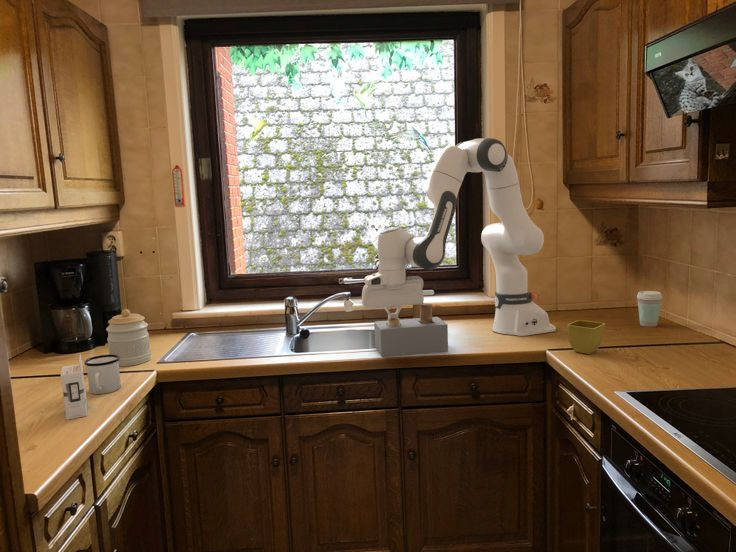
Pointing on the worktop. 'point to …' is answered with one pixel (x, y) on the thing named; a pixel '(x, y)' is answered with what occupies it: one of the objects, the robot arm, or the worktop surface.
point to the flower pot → (585, 335)
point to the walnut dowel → (425, 313)
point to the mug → (103, 374)
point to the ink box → (74, 391)
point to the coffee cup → (649, 307)
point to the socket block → (411, 337)
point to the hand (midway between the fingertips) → (393, 319)
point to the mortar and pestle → (416, 311)
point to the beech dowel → (394, 322)
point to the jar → (129, 338)
